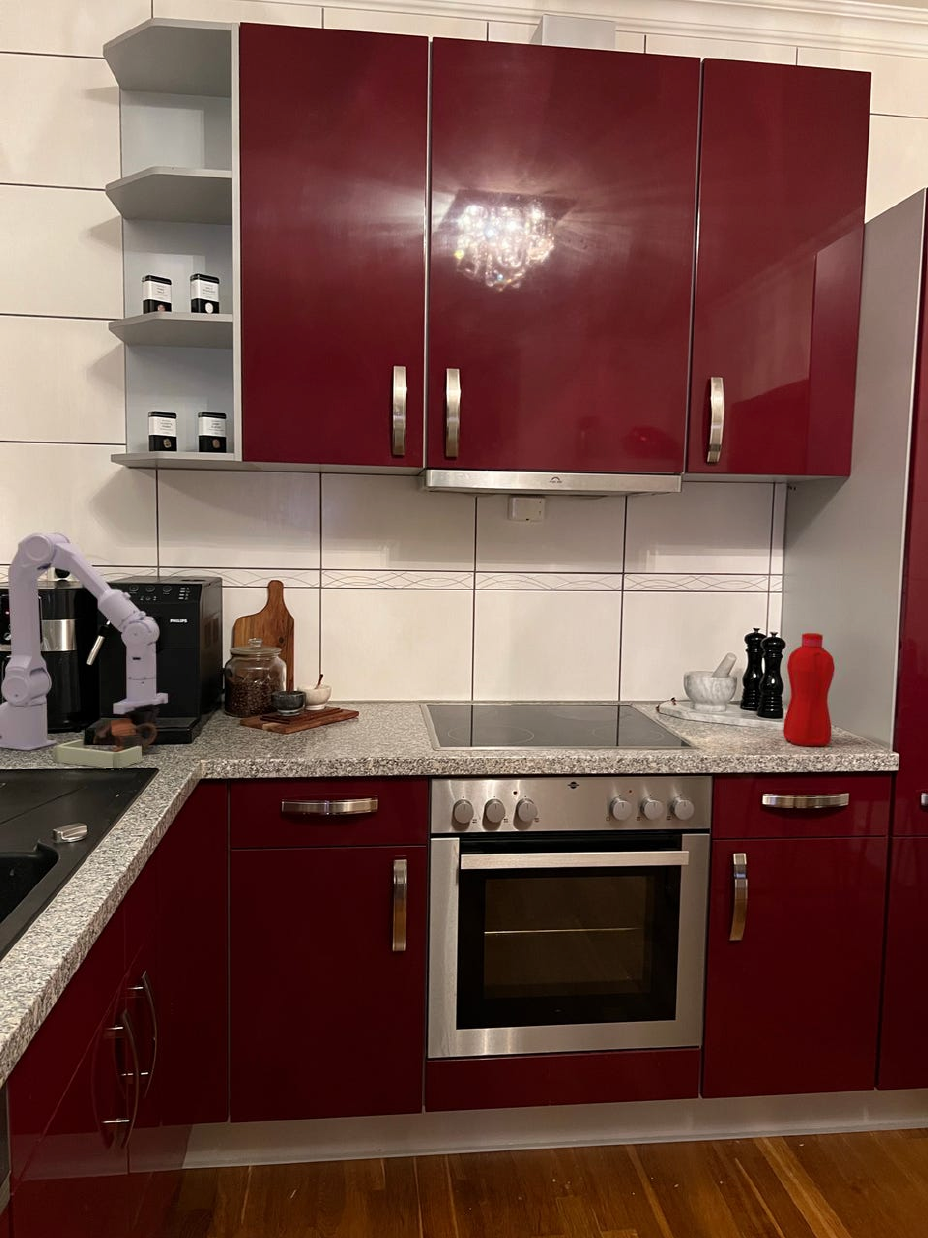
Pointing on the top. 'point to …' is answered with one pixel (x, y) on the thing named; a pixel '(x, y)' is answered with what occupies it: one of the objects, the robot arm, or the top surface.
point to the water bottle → (809, 693)
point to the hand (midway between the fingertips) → (141, 742)
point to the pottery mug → (124, 734)
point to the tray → (95, 755)
